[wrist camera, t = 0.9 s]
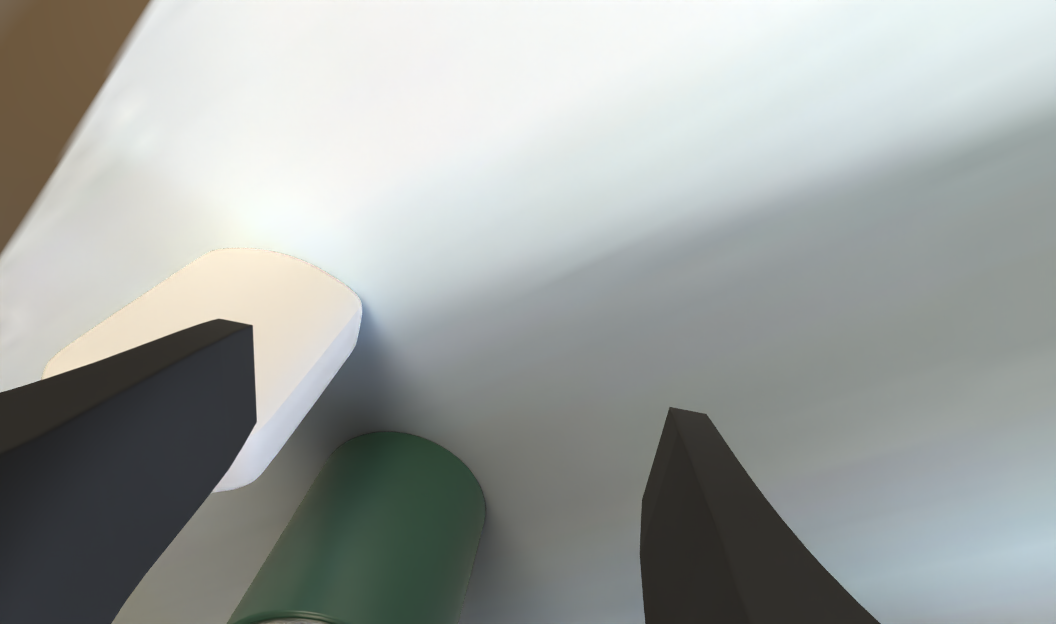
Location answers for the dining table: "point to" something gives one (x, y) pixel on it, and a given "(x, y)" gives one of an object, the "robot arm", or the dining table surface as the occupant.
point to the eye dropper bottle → (278, 333)
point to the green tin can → (374, 540)
